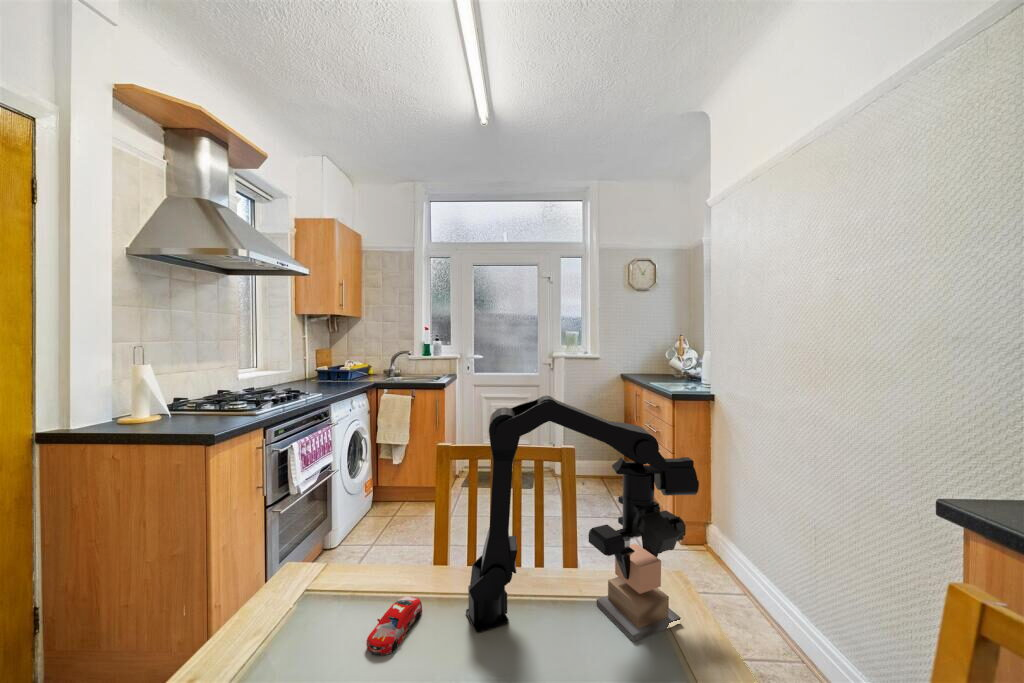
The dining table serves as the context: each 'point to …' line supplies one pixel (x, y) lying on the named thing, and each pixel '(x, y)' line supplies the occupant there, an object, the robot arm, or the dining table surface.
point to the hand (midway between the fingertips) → (637, 575)
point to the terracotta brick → (642, 570)
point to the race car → (394, 625)
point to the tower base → (629, 625)
